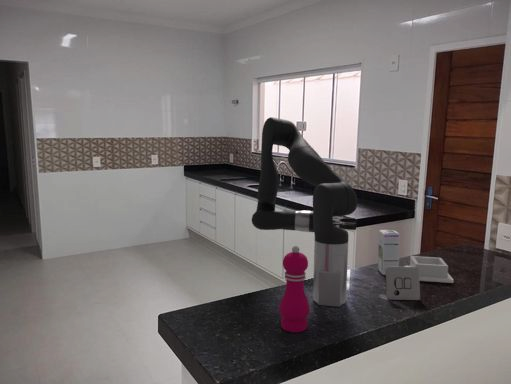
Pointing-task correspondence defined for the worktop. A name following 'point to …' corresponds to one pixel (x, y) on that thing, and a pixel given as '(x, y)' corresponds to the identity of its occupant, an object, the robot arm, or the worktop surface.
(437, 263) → the socket plate
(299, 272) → the pepper mill
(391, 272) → the electrical switch
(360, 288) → the worktop surface
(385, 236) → the syrup box
